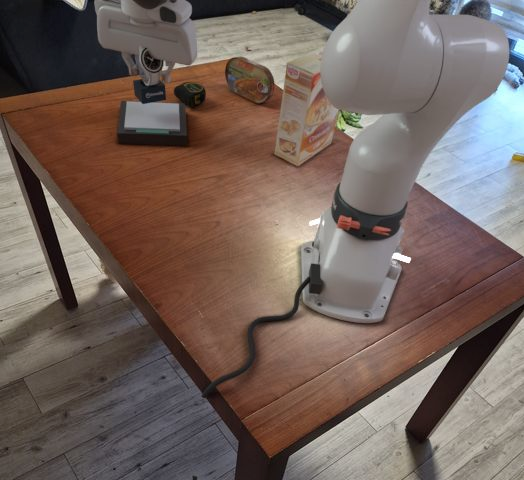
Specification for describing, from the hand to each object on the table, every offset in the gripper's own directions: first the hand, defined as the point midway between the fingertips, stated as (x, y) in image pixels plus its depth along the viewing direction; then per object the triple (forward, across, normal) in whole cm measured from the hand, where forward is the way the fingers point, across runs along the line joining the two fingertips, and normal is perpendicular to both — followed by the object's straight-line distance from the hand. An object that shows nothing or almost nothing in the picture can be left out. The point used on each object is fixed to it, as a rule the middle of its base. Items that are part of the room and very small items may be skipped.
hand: (150, 78), depth 101 cm
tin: (+11, +16, +25) cm, 32 cm away
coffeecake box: (+11, +35, +5) cm, 37 cm away
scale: (+11, 0, 0) cm, 11 cm away
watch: (+4, 0, 0) cm, 4 cm away
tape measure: (+11, +4, +15) cm, 19 cm away
